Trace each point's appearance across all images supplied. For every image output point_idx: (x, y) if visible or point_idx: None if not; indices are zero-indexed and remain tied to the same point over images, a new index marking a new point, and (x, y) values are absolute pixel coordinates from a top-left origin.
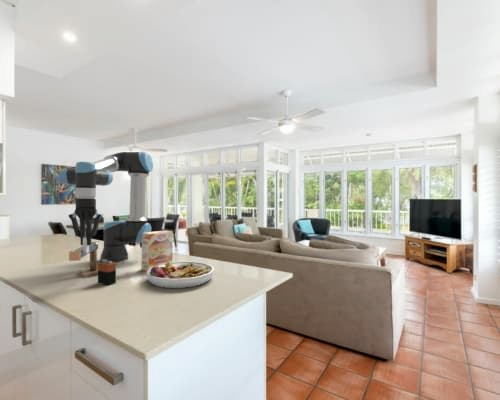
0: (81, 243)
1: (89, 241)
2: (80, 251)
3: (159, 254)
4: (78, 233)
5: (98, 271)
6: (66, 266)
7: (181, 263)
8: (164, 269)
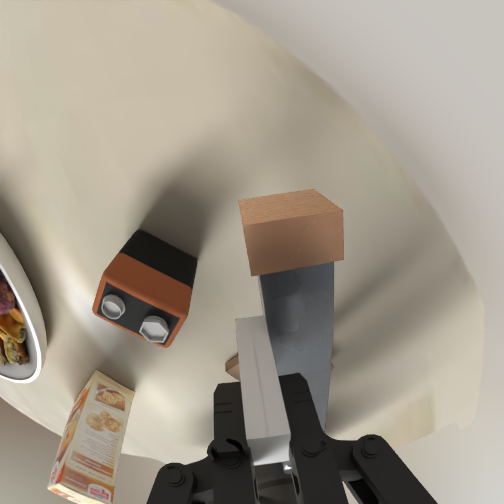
0: (298, 387)
1: (219, 414)
2: (249, 263)
3: (69, 423)
4: (360, 473)
5: (186, 282)
6: (382, 396)
7: (14, 375)
8: (3, 322)
